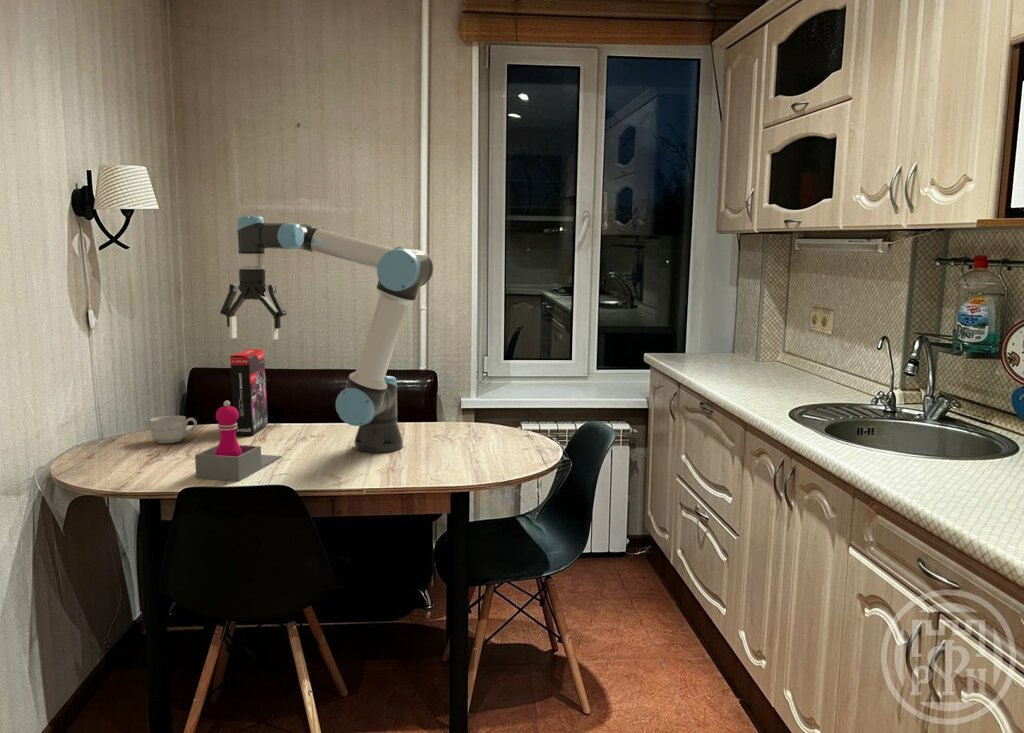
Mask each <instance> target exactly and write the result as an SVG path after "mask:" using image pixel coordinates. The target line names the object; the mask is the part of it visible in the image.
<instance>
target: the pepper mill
mask: <svg viewBox="0 0 1024 733" xmlns="http://www.w3.org/2000/svg"><path fill="white" fill-rule="evenodd" d="M238 418H239V413H238V410H237V409H236V408H235V407H233V405H232V406H231V402H230V401H229V400H225V401H224V402H223V406H221V407H219V408H218V409H217V410H216V412H215V419H216V421H217V422H218V423H217V426H218V428H217V429H218V430H219V432H220V436H219V437H220V439H219V442H218V444H219V445H218V444H217V445H218V447H217V450H216V453H215V455H220V456H239V455H241V454H242V450H241V448H240V446H239V445H240V444H239V442H238V441H237V440H238V439H237V435H236V429H237V423H236V421H237V420H238Z"/></svg>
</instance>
